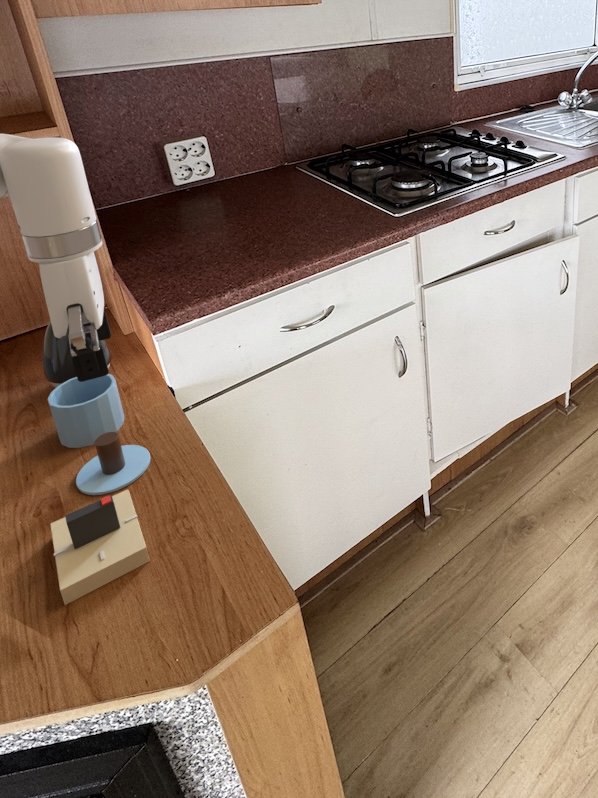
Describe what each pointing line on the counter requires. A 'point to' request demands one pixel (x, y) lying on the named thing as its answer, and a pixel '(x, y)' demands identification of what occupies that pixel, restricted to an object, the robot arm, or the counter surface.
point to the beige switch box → (99, 553)
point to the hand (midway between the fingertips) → (96, 357)
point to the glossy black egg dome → (62, 357)
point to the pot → (86, 410)
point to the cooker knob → (92, 521)
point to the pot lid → (112, 466)
